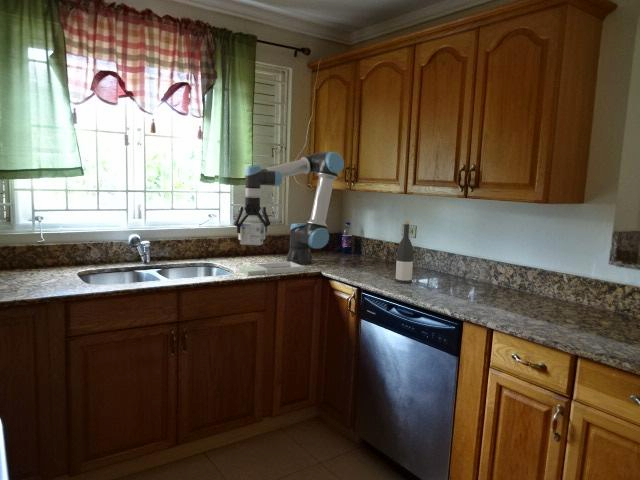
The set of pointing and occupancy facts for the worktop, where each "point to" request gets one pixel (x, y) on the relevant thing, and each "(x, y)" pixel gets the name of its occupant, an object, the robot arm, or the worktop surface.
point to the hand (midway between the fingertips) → (251, 239)
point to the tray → (292, 268)
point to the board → (251, 270)
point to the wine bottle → (404, 258)
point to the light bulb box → (252, 234)
